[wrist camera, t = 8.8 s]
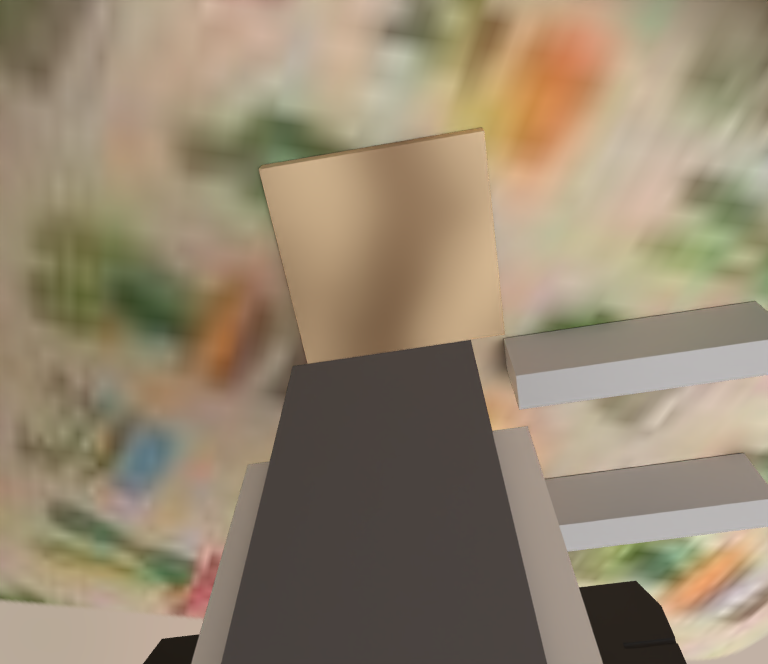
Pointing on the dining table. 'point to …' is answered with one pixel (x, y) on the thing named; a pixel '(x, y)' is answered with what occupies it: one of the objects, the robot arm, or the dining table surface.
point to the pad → (388, 245)
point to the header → (636, 375)
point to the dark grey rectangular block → (385, 523)
